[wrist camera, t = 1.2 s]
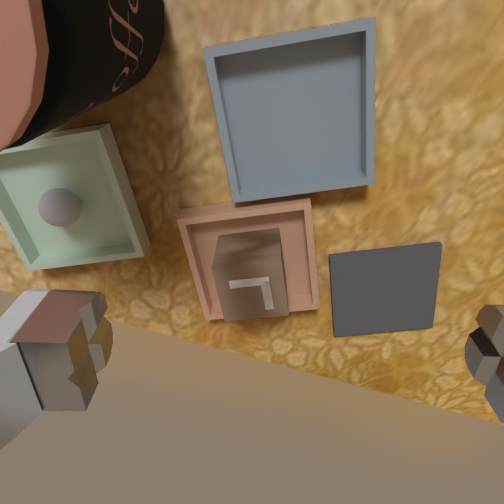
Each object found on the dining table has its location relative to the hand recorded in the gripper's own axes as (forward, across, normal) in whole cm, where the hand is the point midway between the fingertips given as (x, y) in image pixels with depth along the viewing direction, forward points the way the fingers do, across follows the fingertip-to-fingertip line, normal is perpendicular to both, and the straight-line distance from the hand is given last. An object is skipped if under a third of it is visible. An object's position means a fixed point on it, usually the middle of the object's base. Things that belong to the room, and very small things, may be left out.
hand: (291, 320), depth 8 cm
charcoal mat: (+24, -12, +17) cm, 32 cm away
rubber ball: (+24, +17, +8) cm, 30 cm away
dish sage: (+25, +17, +8) cm, 31 cm away
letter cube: (+24, +1, +13) cm, 27 cm away
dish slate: (+24, -2, 0) cm, 24 cm away
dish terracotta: (+24, +1, +13) cm, 28 cm away
